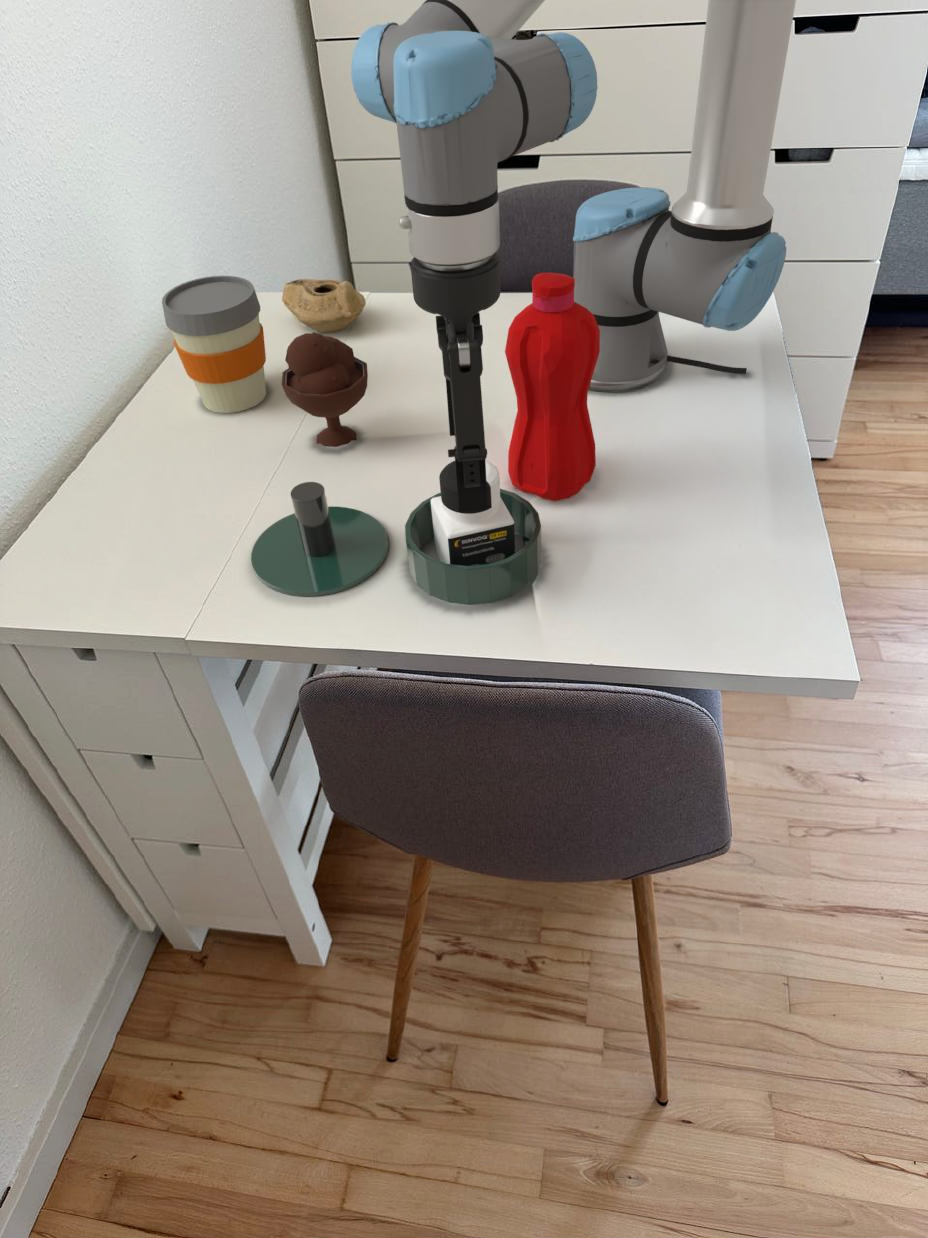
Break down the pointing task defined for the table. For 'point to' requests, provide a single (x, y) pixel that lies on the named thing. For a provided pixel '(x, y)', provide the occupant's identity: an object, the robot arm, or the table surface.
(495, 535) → the medicine bottle
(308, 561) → the pot lid
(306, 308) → the oil lamp
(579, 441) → the water bottle
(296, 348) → the ice cream bowl
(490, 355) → the table surface
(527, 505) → the pot
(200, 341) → the reusable coffee cup
